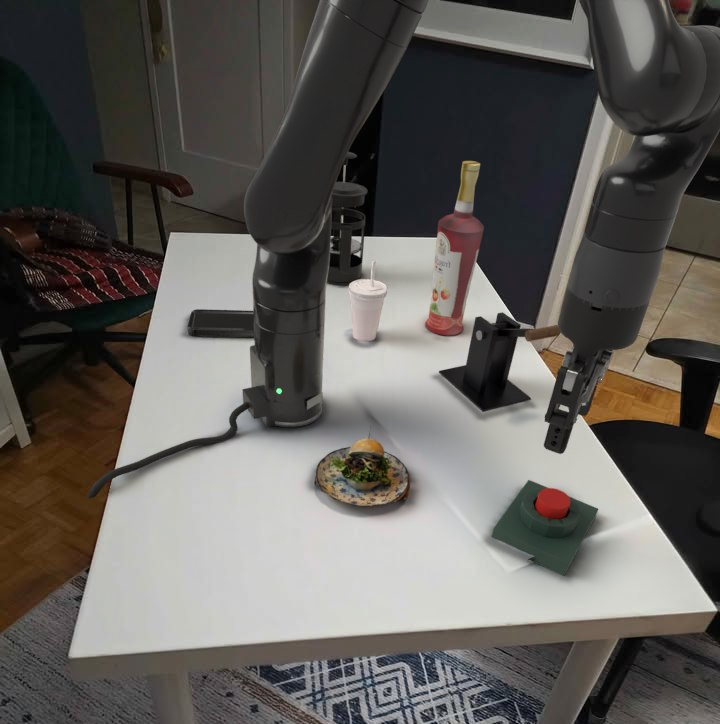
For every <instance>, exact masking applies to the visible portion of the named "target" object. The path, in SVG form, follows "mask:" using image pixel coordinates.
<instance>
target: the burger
mask: <svg viewBox="0 0 720 724" xmlns="http://www.w3.org/2000/svg"><path fill="white" fill-rule="evenodd" d="M371 428H372V425H370V427H369V431H368V438H363V439H360V440H358V441H356V442H354V443H353V444H352V445H351V446H346V447H341V448H338V449H336V450H333V451H331V452H329V453H327V454H326V455H324V457H323V458H322V459H320V461H319V462H318V464H317V466H316V469H315V474H314V482H313V483H314V486H316V485H317V487H318V489H319V490H320V491H321V493H324V494H325V495H326V494H327V496H329V497H330V498H332V499H334V500H336V501H339V502H340V503H341V502H342V503H344V504H349V505H350V504H351V505H354V506H359V507H373V506H379V505H388V504H389V503H393V502H394V503H396V502H398V501H400V500H401V499H403V500H404V501H406V500H407V499H408V497H409V494H410V490H411V489H410V488H411V483H412V480H411V479H412V478H411V476H410V472H409V471H408V468H407V467H406V466H405V464H404V462H402V461H401V460H400V459H399V457H396V456H395V455H393V454H392V453H389V452H387V451H385V449H384V446H383V445H382V444H381V443H380V442H379V441H378V440H376V439H373V438H370V437H371V435H370V434H371Z"/></svg>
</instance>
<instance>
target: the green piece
mask: <svg viewBox="0 0 720 724" xmlns="http://www.w3.org/2000/svg"><path fill="white" fill-rule="evenodd" d="M546 488H548V486H545V485H542V484H540V483H538V482H535V481H533V480H531V479H528V480H527V481H526V482H525V484H524V486H523V487H522V488H521V489H520V491H519V492H518V494H517V495H516V497H515V498H514V500H513V501H512V502H511V503H510V505H509V506H508V508H507V509H506V511H504V513H503V515H502V516H501V517H500V519H499V520H498V522H497V523H496V525H495V526H494V527H493V529H492V533H491V538H493V539H495V540H497V541H500V542H502V543H504V544H506V545H509V546H511V547H513V548H515V549H517V550H519V551H521V552H523V553H526V554H528V555H530V556H532V557H530V558H528V559H527V561H530V562H532V563H535V564H537V565H539V566H541V567H543V568H545V569H548V570H550V571H552V572H553V573H556V574H558V575H561V576H563V577H565V576H566V574H567V573H568V570H569V568H570V566H571V565H572V563H573V561H574V559H575V557H576V556H577V553H578V551H579V550H580V548H581V546H582V544H583V542H584V541H585V537H586V535H587V533H588V532H589V529H590V528H591V526H592V524H593V523H594V520H595V519H596V517H597V514H598V511H599V508H598V507H596V506H593V505H591V504H588V503H585V502H583V501H581V500H579V499H576V498H574V497H571V496H569V498H570V506H569V508H568V511H567V514H566V516H565V517H564V518H562V519H560V520H557V519H549V518H547V517H544V516H542V515H540V514H539V513H538V512H537V511H536V508H535V504H536V501H537V498H538V495H539V492H540V491H541V490H543V489H546Z"/></svg>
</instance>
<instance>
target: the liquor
mask: <svg viewBox="0 0 720 724" xmlns="http://www.w3.org/2000/svg"><path fill="white" fill-rule="evenodd" d="M461 164H462V165H461V170H460V186H459V190H458V194H457V198H456V202H455V206H454V210H453V213H451V214H447V215H445V216H443V217H442V218H440V219H439V220H438V222H437V233H436V242H435V250H434V263H433V276H432V283H431V284H432V285H431V295H430V303H429V312H428V318H427V319H426V320H425V322H424V325H425V327H426V329H428V330H429V331H430V332H432V333H434V334H436V335H439V336H444V337H445V336H447V337H451V336H455V335H456V336H457V335H459V334H460V333H462V332H463V331H464V329H465V327H464V324H463V320H464V315H465V311H466V305H467V301H468V297H469V292H470V289H471V285H472V280H473V275H474V272H475V269H476V265H477V259H478V256H479V252H480V247H481V243H482V239H483V234H484V230H485V226H484V224H483V223H482V222H481V220H480V219H478V218H476V217H475V216H473V212H474V201H475V190H476V185H477V181H478V178H479V173H480V168H481V163H480V162H479V161H473V160H463V161H462V163H461Z"/></svg>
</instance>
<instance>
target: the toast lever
mask: <svg viewBox="0 0 720 724" xmlns="http://www.w3.org/2000/svg"><path fill="white" fill-rule="evenodd" d="M491 324H492V325H493V326H495V327H496V328H498V329H499V330H498V335H497V339H496V342H498V341H503V340H508V337H518V338H524V339H525V341H526V342H529V343H530V342H534V341H539V340H545V339H548V338H549V339H550V338H554V337H558V336H560V334H561V332H560V330H559V328H558V324H555V325H550V326H545V327H539V328H520V329H511V328H507V323H496V322H492V323H491Z"/></svg>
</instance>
